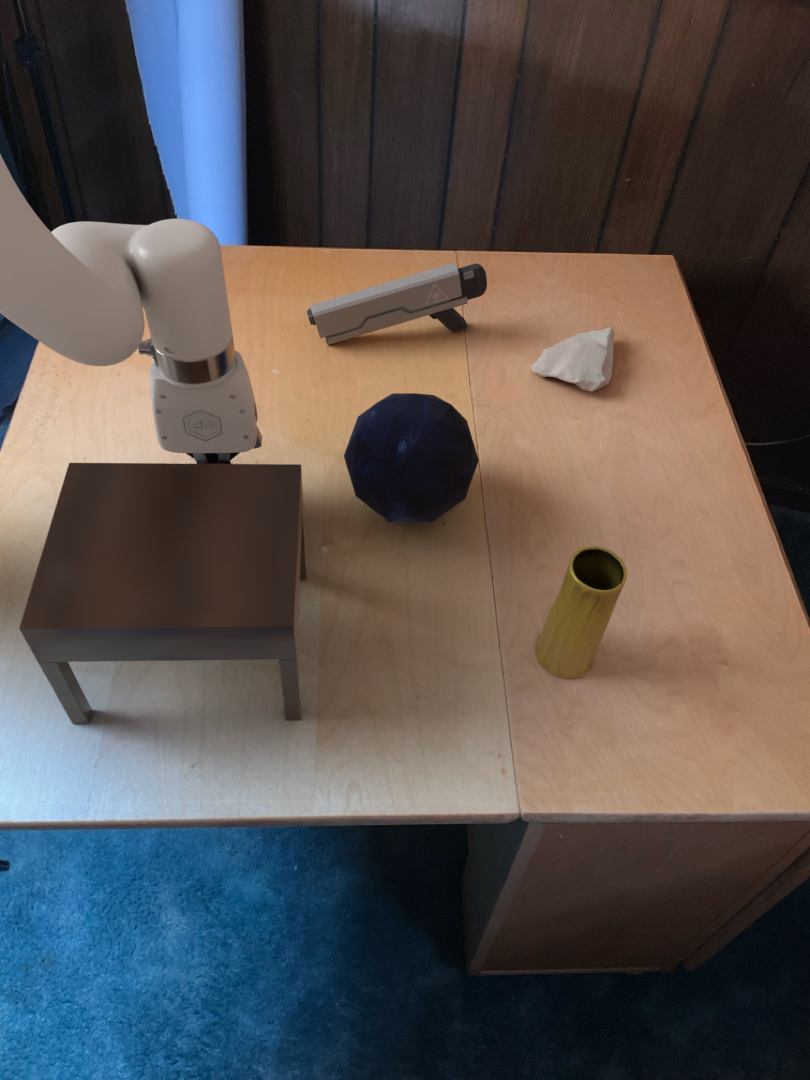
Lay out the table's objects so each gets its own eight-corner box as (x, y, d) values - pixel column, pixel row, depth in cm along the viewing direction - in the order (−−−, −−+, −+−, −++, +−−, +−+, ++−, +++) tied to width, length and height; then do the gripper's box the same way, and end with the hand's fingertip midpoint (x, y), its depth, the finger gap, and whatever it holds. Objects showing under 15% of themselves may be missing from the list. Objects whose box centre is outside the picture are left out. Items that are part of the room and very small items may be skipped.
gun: (492, 322, 116) (487, 263, 108) (325, 372, 115) (307, 316, 107) (487, 312, 117) (481, 252, 109) (322, 361, 117) (304, 305, 109)
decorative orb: (363, 547, 83) (449, 434, 77) (298, 456, 91) (372, 347, 85) (447, 558, 94) (528, 460, 88) (383, 476, 101) (453, 380, 96)
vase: (584, 625, 85) (620, 539, 74) (601, 676, 81) (642, 593, 70) (528, 630, 84) (556, 544, 73) (542, 682, 80) (574, 599, 69)
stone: (528, 348, 108) (582, 302, 116) (522, 373, 111) (575, 326, 119) (597, 382, 104) (648, 332, 112) (589, 407, 107) (639, 356, 115)
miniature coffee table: (72, 724, 74) (18, 628, 62) (111, 556, 87) (72, 449, 74) (301, 720, 76) (293, 626, 64) (307, 556, 88) (301, 451, 76)
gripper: (109, 376, 75) (148, 507, 89) (271, 377, 76) (284, 506, 90) (122, 327, 80) (157, 459, 94) (275, 328, 81) (286, 458, 95)
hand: (219, 482), depth 92 cm, fingers closed
